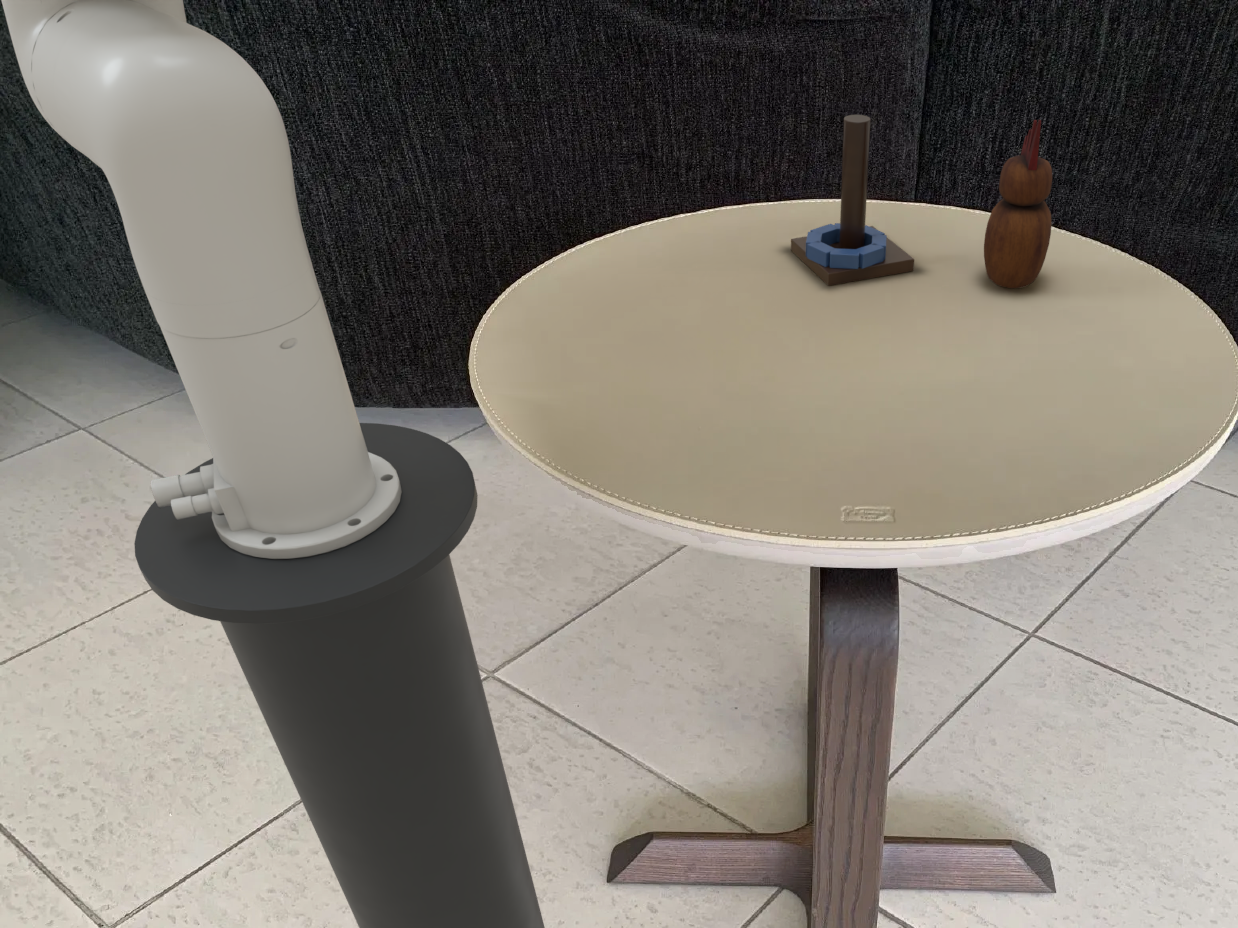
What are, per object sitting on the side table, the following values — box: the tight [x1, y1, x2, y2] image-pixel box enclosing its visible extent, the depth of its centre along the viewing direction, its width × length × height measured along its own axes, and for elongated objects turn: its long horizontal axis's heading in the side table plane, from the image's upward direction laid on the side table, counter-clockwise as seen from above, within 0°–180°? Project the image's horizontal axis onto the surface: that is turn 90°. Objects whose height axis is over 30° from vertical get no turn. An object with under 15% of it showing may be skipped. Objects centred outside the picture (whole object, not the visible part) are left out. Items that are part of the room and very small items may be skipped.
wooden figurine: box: [983, 119, 1053, 289], centre depth 96 cm, size 7×6×15 cm
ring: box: [806, 222, 888, 269], centre depth 102 cm, size 8×8×1 cm
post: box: [790, 114, 915, 287], centre depth 100 cm, size 9×9×13 cm
